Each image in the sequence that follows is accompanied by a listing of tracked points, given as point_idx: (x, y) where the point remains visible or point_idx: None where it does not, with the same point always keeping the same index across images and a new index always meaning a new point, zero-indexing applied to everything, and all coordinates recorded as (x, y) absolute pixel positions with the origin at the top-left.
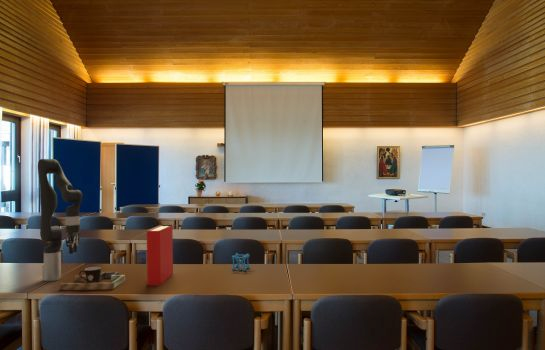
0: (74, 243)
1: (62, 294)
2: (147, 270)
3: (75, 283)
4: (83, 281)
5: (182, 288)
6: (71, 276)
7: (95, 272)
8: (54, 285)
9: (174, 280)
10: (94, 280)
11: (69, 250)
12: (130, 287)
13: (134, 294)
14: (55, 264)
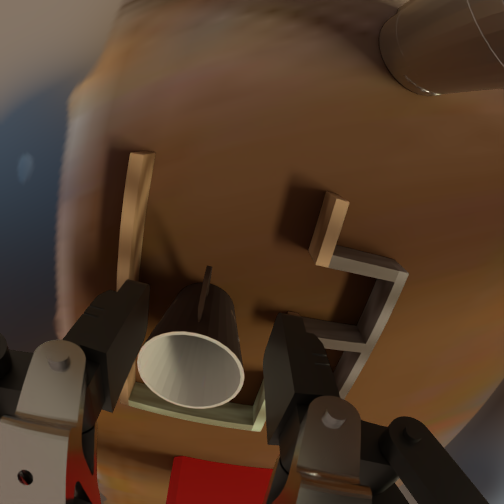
0: (332, 455)
1: (61, 194)
2: (173, 495)
3: (120, 249)
4: (311, 242)
5: (139, 487)
6: (457, 151)
7: (154, 375)
8: (267, 81)
9: None
10: (168, 339)
11: (85, 319)
12: (151, 425)
13: None
14: (446, 49)
